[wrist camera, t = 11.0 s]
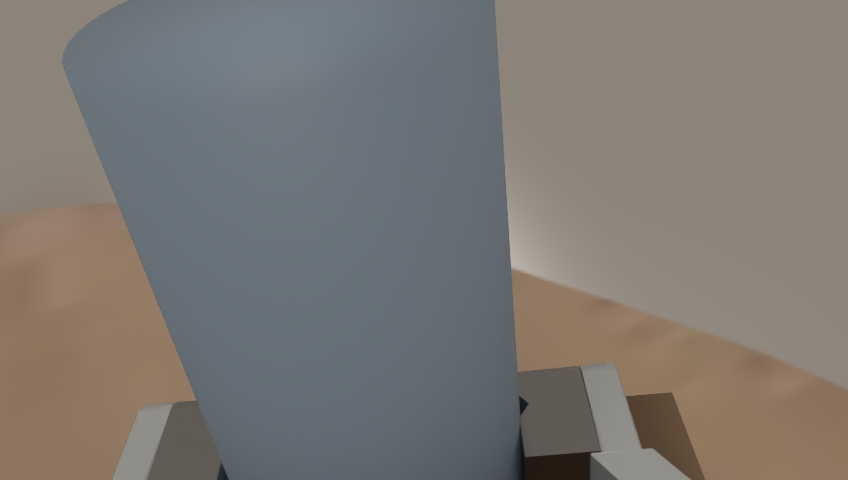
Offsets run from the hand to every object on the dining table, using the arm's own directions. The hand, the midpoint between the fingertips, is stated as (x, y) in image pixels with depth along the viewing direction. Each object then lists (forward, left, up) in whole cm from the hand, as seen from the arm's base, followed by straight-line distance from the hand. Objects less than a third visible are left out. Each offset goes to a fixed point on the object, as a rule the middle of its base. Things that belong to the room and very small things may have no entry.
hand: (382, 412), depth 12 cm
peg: (+1, -1, -7) cm, 8 cm away
